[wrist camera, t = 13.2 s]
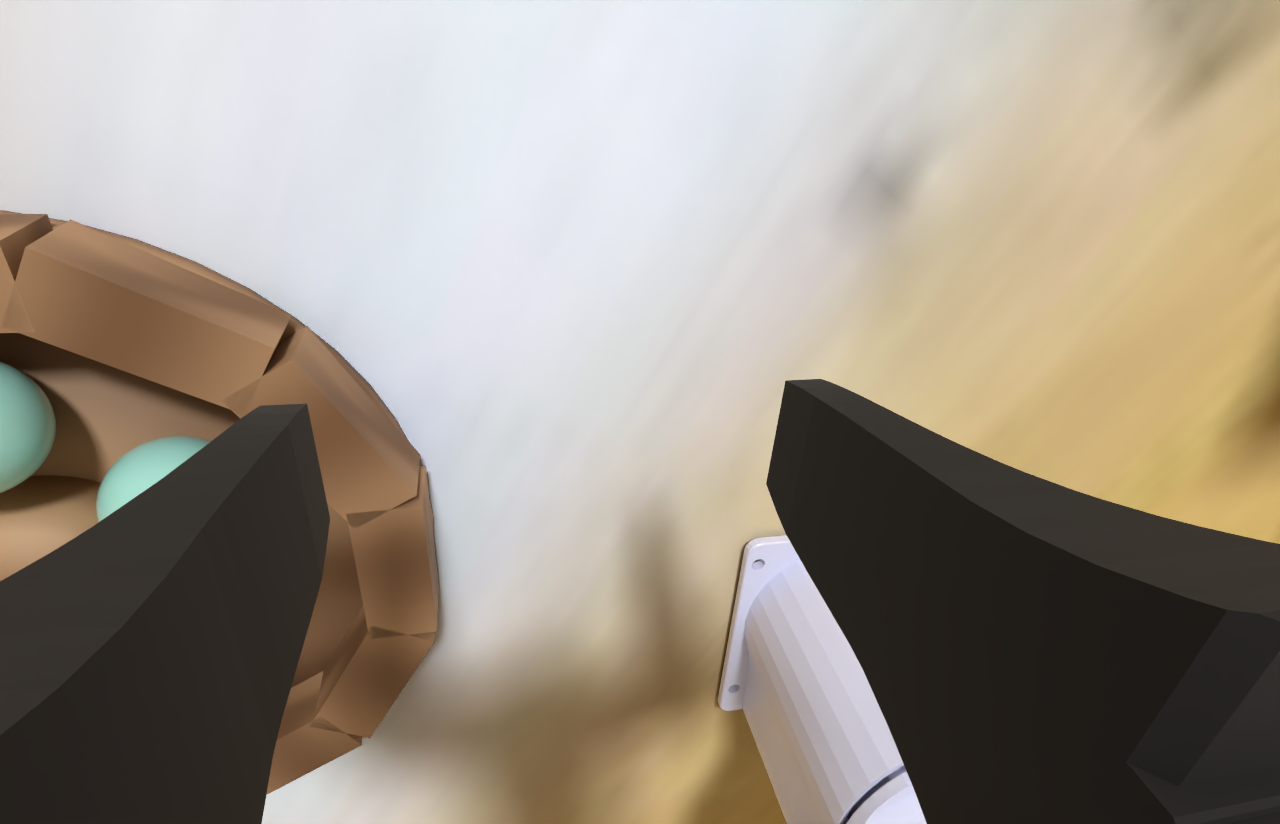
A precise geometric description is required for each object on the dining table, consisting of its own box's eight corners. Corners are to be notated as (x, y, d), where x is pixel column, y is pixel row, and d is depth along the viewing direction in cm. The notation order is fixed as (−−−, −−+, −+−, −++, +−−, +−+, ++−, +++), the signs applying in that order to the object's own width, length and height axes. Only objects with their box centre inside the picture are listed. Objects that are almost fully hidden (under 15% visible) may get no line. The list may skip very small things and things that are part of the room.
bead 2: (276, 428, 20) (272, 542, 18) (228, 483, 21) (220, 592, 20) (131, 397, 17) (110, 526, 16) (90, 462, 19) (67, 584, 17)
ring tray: (454, 715, 28) (454, 787, 26) (-156, 800, 24) (-228, 895, 21) (399, 209, 18) (389, 245, 16) (-672, 202, 14) (-922, 250, 11)
